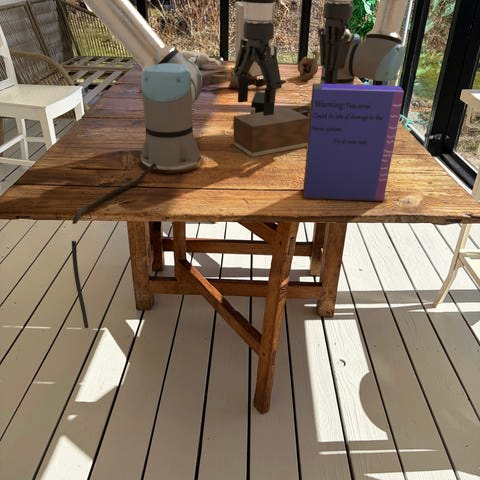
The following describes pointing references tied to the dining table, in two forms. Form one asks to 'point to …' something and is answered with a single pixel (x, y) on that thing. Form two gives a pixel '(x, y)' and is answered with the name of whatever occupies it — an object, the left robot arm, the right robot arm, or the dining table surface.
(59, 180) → the dining table surface
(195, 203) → the dining table surface
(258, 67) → the paper bag
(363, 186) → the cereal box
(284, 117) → the wooden chest box
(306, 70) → the anatomical model
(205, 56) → the toy
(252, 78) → the figurine
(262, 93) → the figurine character
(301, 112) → the drawer
